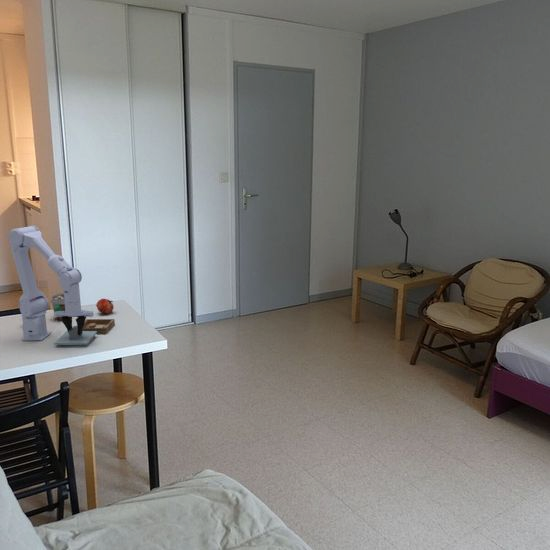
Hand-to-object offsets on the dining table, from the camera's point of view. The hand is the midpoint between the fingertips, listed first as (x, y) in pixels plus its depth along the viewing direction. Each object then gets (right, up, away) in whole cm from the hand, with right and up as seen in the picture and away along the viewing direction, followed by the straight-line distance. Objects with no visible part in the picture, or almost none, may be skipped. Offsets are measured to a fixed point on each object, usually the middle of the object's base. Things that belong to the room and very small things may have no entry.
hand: (75, 334), depth 205 cm
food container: (-18, +4, +30) cm, 35 cm away
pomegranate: (0, +5, +37) cm, 37 cm away
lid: (0, -2, +1) cm, 2 cm away
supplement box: (-26, +1, +21) cm, 34 cm away
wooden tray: (+3, 0, +15) cm, 16 cm away
